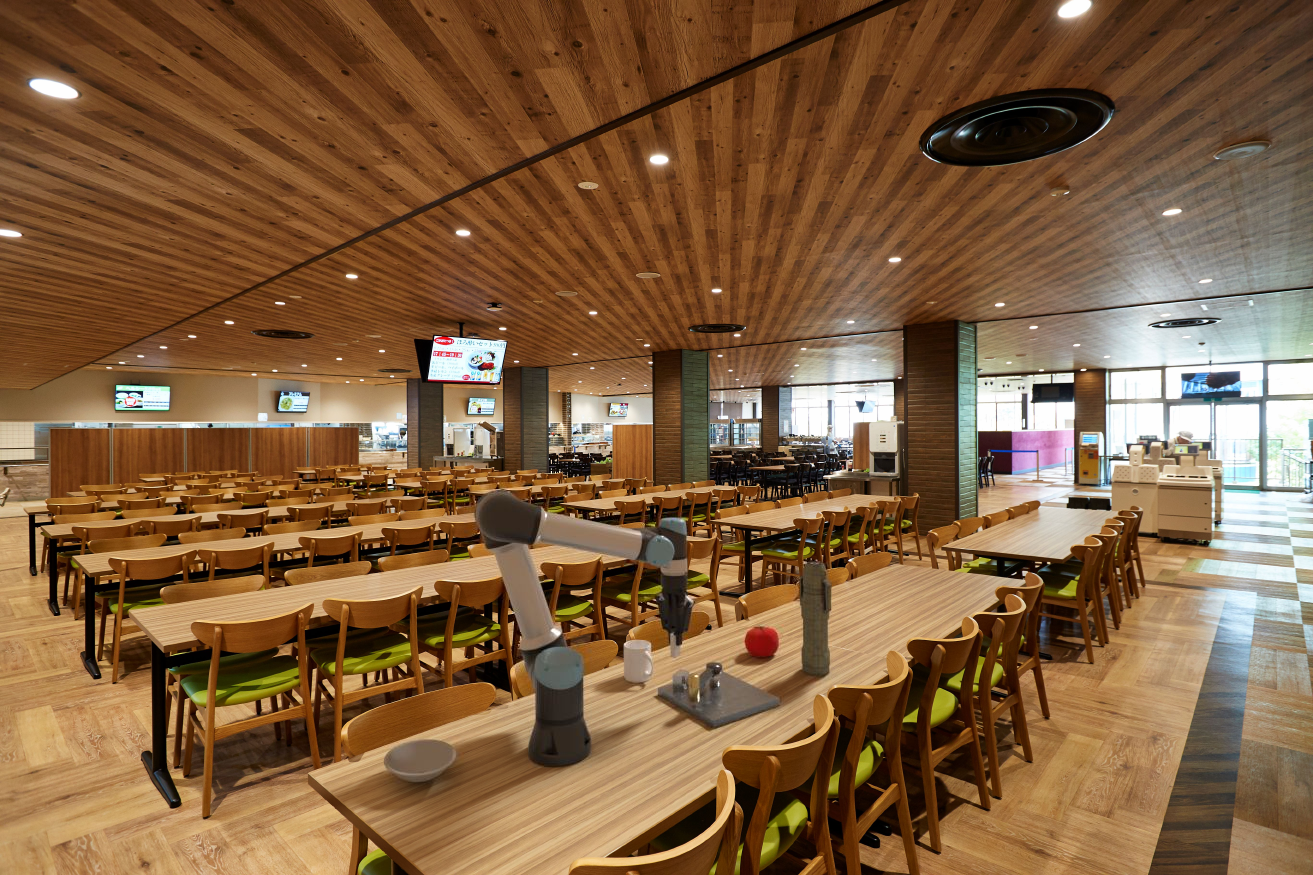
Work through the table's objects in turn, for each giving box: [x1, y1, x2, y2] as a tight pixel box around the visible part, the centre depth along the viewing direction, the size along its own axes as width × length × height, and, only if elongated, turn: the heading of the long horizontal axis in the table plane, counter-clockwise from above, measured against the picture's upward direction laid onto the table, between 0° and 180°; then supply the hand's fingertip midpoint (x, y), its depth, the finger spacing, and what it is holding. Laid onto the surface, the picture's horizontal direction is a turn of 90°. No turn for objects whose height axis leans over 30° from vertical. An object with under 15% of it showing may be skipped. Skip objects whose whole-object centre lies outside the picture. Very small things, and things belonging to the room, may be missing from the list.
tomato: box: [744, 625, 780, 658], centre depth 216 cm, size 11×13×10 cm
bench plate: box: [657, 668, 781, 729], centre depth 179 cm, size 24×26×6 cm
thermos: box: [798, 561, 832, 677], centre depth 200 cm, size 9×12×35 cm
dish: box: [383, 738, 457, 783], centre depth 139 cm, size 18×14×5 cm
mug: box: [623, 639, 654, 684], centre depth 195 cm, size 9×12×11 cm
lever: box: [689, 661, 723, 702], centre depth 179 cm, size 5×19×7 cm, turn 153°
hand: (675, 655), depth 175 cm, fingers closed
